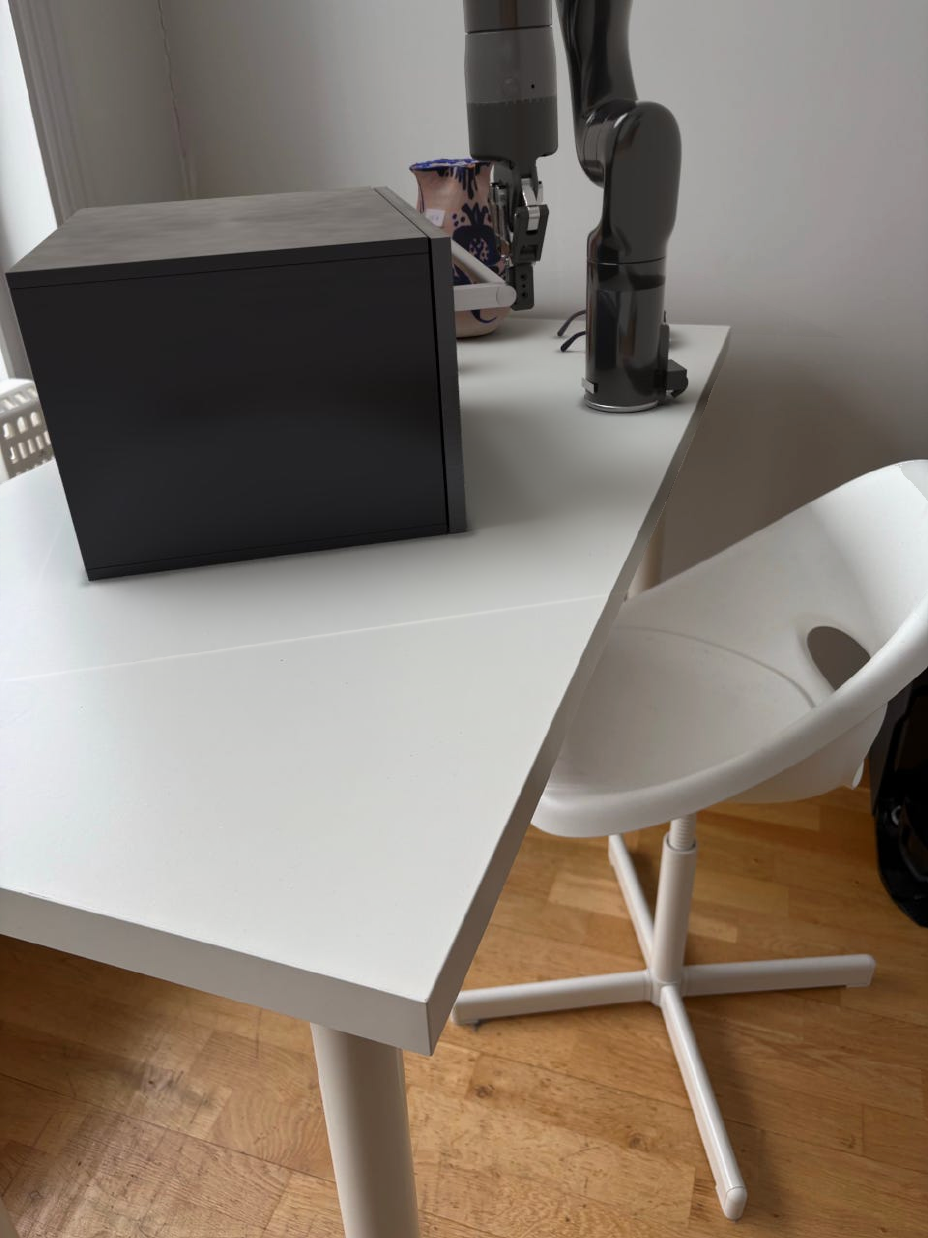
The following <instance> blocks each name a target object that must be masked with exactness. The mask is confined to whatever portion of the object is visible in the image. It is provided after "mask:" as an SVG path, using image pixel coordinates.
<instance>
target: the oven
mask: <svg viewBox="0 0 928 1238" xmlns="http://www.w3.org/2000/svg"><path fill="white" fill-rule="evenodd" d="M373 188H374V187H372V186H369V185H368V186H357V187H356V186H355V187H344V188H331V189H330V188H329V189H318V190H317V189H315V190H304V191H292V192H291V191H289V192H278V193H266V194H253V195H251V194H250V195H239V196H228V197H226V196H225V197H214V198H200V199H188V200H173V201H161V202H160V201H159V202H148V203H147V202H146V203H136V204H135V203H133V204H124V205H123V204H122V205H112V206H111V205H109V206H97V207H85V208H84V207H83V208H79V210H77V211H76V212H74V214H72V215H71V216H70V217H69V218H68V219H66V221H64V222H63V223H62V224H61V225H60V226H58V228H56V229H54V231H52V232H51V233H50V234H49V235H48V236H47V237H45V238H44V239H43V240H42V241H41V242H40V243H38V244H37V245H36V246H35V247H33V249H31V250H30V251H29V252H27V254H25V255H24V256H23V257H22V258H21V259H20V260H18V261H17V262H16V263H15V264H14V265H12V266H11V267H10V268H9V269H7V270H6V271H5V272H4V276H5V281H6V284H7V288H8V289H9V294H10V298H11V302H12V305H13V306H12V307H13V309H14V312H15V316H16V321H17V324H18V328H19V331H20V334H21V335H20V336H21V338H22V342H23V346H24V350H25V353H26V357H27V361H28V364H29V367H30V371H31V376H32V378H33V382H34V386H35V389H36V393H37V397H38V401H39V404H40V408H41V412H42V415H43V419H44V422H45V426H46V430H47V434H48V437H49V442H50V445H51V448H52V453H53V455H54V459H55V462H56V466H57V470H58V474H59V477H60V481H61V485H62V489H63V492H64V496H65V499H66V503H67V507H68V512H69V514H70V518H71V522H72V525H73V529H74V533H75V536H76V539H77V544H78V547H79V550H80V555H81V558H82V562H83V565H84V566H83V567H84V569H85V574H86V577H87V580H88V582H94V581H101V580H107V579H116V578H124V577H132V576H140V575H147V574H155V573H162V572H163V573H164V572H171V571H177V570H185V569H186V570H187V569H193V568H201V567H208V566H209V567H210V566H216V565H225V564H231V563H239V562H249V561H254V560H256V561H257V560H262V559H263V560H264V559H270V558H278V557H286V556H292V555H301V554H307V553H317V552H325V551H333V550H339V549H347V548H354V547H361V546H371V545H377V544H386V543H393V542H394V543H395V542H402V541H407V540H415V539H424V538H431V537H439V536H447V535H448V528H447V524H446V507H445V492H444V477H443V462H442V446H441V431H440V416H439V400H438V385H437V370H436V355H435V339H434V324H433V309H432V294H431V278H430V263H429V253H428V252H429V248H428V237H427V236H426V235H425V234H424V233H423V232H421V231H420V230H419V229H418V228H417V227H416V226H415V225H414V224H412V223H411V222H410V221H409V220H408V219H407V218H406V217H405V216H403V215H402V214H401V213H400V212H399V211H398V210H397V209H396V208H394V207H393V206H392V205H391V204H390V203H389V202H388V201H387V200H385V199H384V198H383V197H382V196H381V195H380V194H379V193H378V192H376V191H375V190H374V189H373Z"/></svg>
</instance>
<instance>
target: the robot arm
mask: <svg viewBox="0 0 928 1238" xmlns="http://www.w3.org/2000/svg"><path fill="white" fill-rule="evenodd" d="M554 1H555V2H554V3H555V7H556V14H557V19H558V23H559V29H560V33H561V38H562V44H563V48H564V53H565V58H566V65H567V72H568V80H569V92H570V102H571V112H572V124H573V133H574V143H575V144H574V145H575V151H576V157H577V160H578V163H579V166H580V168H581V171H582V172H583V174H584V176H585V178H586V179H588V181H589V182H591V184H593V185H595V186H596V187H598V188H601V189H603V193H602V194H603V195H602V210H601V217H600V220H599V222H598V223H597V225H596V226H595V227H593V228H592V229H591V230H590V231H589V232H588V234H587V237H586V254H585V255H586V259H585V260H586V261H585V264H586V265H585V310H586V314H585V331H586V335H585V348H584V349H585V350H584V351H585V355H584V356H585V357H584V359H585V360H584V361H585V363H584V377H581V387H582V388H584V395H583V402H584V404H585V405H586V406H587V407H589V408H591V409H594V410H597V411H601V412H607V413H623V414H624V413H635V412H636V413H637V412H642V411H646V410H650V409H652V408H655V407H657V406H661V405H666V404H667V392H668V391H670V392H669V395H670V396H671V397H672V398H673V399H677V397H679V396H680V395H682V394H683V393H684V392H686V390H687V389H688V387H689V378H688V369H687V368H686V367H684V366H683V365H681V364H679V362H677V361H676V360H674V359H672V358H670V359H669V352H670V350H669V349H670V333H671V332H670V329H671V327H670V325H669V323H667V322H666V323H665V322H664V310H665V306H666V305H665V303H666V285H667V283H666V281H667V263H668V261H667V260H668V247H669V246H668V245H669V241H670V238H671V237H672V234H673V232H674V229H675V226H676V222H677V215H678V205H679V196H680V195H679V194H680V185H681V184H680V183H681V173H682V161H683V141H682V134H681V133H682V132H681V128H680V125H679V122H678V119H677V118H676V117H675V115H674V113H673V112H672V111H671V109H669V108H668V107H667V106H665V105H664V104H662V103H660V102H657V101H653V100H642V99H641V100H640V99H639V96H638V92H637V87H636V83H635V76H634V72H633V66H632V60H631V59H632V58H631V52H630V51H631V50H630V25H631V15H632V9H633V3H634V0H554ZM552 2H553V0H462V9H463V24H464V33H465V35H464V55H463V56H464V57H463V59H464V60H463V68H464V69H463V70H464V71H463V72H464V73H463V74H464V75H463V76H464V88H465V105H466V118H467V119H466V120H467V133H468V149H469V156H470V158H471V159H474V160H476V161H482V162H494V165H493V170H492V172H493V173H492V178H493V179H492V181H491V182H489V192H488V197H487V203H488V205H489V210H490V215H491V220H492V225H493V230H494V235H495V240H496V249H497V251H498V254H499V255H500V254H502V255H501V260H502V262H503V265H507V266H505V271H506V283H508V284H509V285H510V286H511V287H513V288H514V289H515V291H516V300H515V302H514V303H513V304H512V305H511V306H509V307H510V308H511V311H514V312H519V311H527V310H528V311H529V310H532V309H533V308H534V306H535V283H534V281H535V280H534V266H536V264H537V263H536V262H541V259H542V255H543V250H544V249H543V248H544V244H545V239H546V232H547V227H548V222H549V216H550V209H549V206H548V204H547V203H544V204H543V201H544V185H543V181H542V180H539V175H538V167H537V160H538V159H540V158H546V157H550V156H552V155H555V154H556V152H557V151H558V150H559V122H558V120H559V119H558V116H559V115H558V81H557V77H558V76H557V56H556V55H557V54H556V47H555V41H554V33H553V26H552V25H553V10H552V9H553V3H552Z"/></svg>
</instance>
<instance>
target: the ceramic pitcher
mask: <svg viewBox="0 0 928 1238" xmlns="http://www.w3.org/2000/svg"><path fill="white" fill-rule="evenodd" d="M493 168H494V162H482V161H476V160H474V159H472V158H453V159H449V158H443V157H441V158H437V159H433V160H426V161H421V162H415V163H413V164H411V165H409V166H408V169H409V171H410V172H411V173H412V174H413V175H414V177H415V179H416V182H417V201H416V208H415V209H416V210H417V211H418V212H420V213H421V214H422V215H424V216H425V217H426V218H427V219H429V220H430V221H431V222H432V223H434V224H435V225H436V226H437V227H439V228H440V229H441V230H442V231H444V232H445V233H446V234H448V235H449V236H450V237H451V239H452V240H454V241H455V242H456V243H457V244H459V245H460V246H461V247H462V248H464V249H465V250H466V251H467V252H469V253H470V254H471V255H472V256H474V257H475V258H476V259H478V260H479V261H480V262H481V263H483V264H484V265H485V266H486V267H488V268H489V269H490V270H491V271H493V272H494V273H495V274H496V275H498V276H499V277H500V278H501V279H503V280H504V281H505V282H506V271H505V266H507V265H503V262H502V260H501V255H502V254H500V255H499V254H498V251H497V249H496V240H495V235H494V230H493V225H492V220H491V215H490V210H489V205H488V203H487V197H488V192H489V182H492V181H491V175H492V174H491V173H492V171H493V170H492V169H493ZM452 268H453V286H461V285H472V284H476V283H475V282H474V281H473V280H472V279H471V278H470V277H469V276H468V275H466V274H465V273H464V272H463V271H462V270H461V269H460V268H459V267H458V266H457V265H455V264H454V263H453V262H452ZM511 311H512V309H511V308H510V307H509V306H508V307H496V308H486V309H475V310H465V311H455V323H456V338H470V337H471V338H472V337H478V336H479V337H480V336H484V335H487V334H490V333H492V332H493V331H495V330H496V329H497V328H498V327H499V326H501V324H503V322H504V321H505V320H506V318H507V317H508V315H509V314H510V312H511Z"/></svg>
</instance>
